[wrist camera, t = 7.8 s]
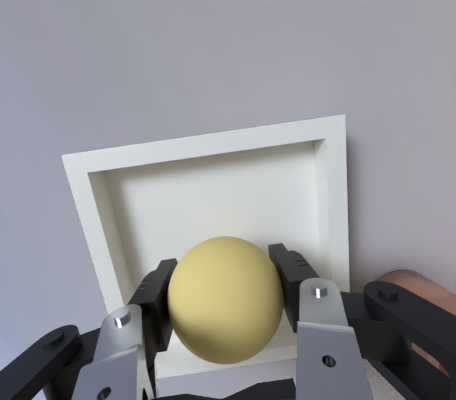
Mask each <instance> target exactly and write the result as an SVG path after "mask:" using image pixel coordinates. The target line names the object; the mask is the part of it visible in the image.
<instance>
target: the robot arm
mask: <svg viewBox="0 0 456 400" xmlns="http://www.w3.org/2000/svg"><path fill="white" fill-rule="evenodd" d="M268 251H269V258H270V259H271V261H272V262H273V264H274V265H275V267H276V269H277V271H278V273H279V276H280V279H281V282H282V287H283V293H284V307H283V308H284V310H285V313H286V315H287V318H288V320H289V323H290V325H291V328H292V330H293V333H297V367H296V387H295V384H294V381H293V378H290V379H284V380H277V381H270V382H263V383H257V384H255V385H253V386H251V387H248V388H246V389H244V390H242V391H239V392H237V393H235V394H233V395H231V396H228V397H226V398H223V399H216V398H210V397H203V396H197V395H190V394H181V395H174V396H167V397H160V398H159V393H158V380H157V368H156V363H155V357H156V354H157V353H158V352H165V351H167V349H168V345H169V342H170V338H171V335H172V331H173V328H172V325H171V322H170V319H169V314H168V307H167V294H168V287H169V283H170V280H171V276H172V274H173V272H174V270H175V268H176V266H177V264H178V262H177V260H176V258H173V259H166V260H161V262H160V263H159V265H158V267H157V269H156V270H154V271H151V272H150V273H149V274H147V275H146V276H145V277H144V279H143V280H142V282H141V284H140V285H139V287H138V288H137V290H136V291H135V293H134V295H133V296H132V298H131V299H130V301H129V302H128V304H127V305H126V306H123V307H120V308H118V309H116V310H114V311H113V312H112V313H110V314H109V315H108V316H107V317H106V318H105V319H104V321H103V323H102V326H101V328H98V329H96V330H93V331H90V332H87V333H85V334H82V335H80V334H79V331H78V328H77V326H75V325H67V326H63V327H60V328H57V329H55V330H53V331H51V332H49V333H48V334H46V335H44V336H43V337H42V338H40V339H39V340H38V341H37V342H35V343H34V344H33V345H32V346H30V347H29V348H28V349H27V350H26V351H24V352H23V353H22V354H21V355H19V356H18V357H17V358H16V359H15V360H13V361H12V362H11V363H10V364H9V365H7V366H6V367H5V368H4V369H2V370H1V371H0V400H32V399H33V397H34V396H35V395H36V394H37V393H38V392H39V391H40V390H41V389H43V392H44V394H45V397H46V399H47V400H373V396H372V393H371V389H370V386H369V382H368V378H367V375H366V371H365V368H364V364H363V361H362V358H364V359H367V360H368V361H369V363H370V364H371V365H372V366H373V367H374V368H375V369H376V370H377V371H378V372H379V373H380V374H381V375H382V376H383V377H384V378H385V379H386V380H387V381H388V382H389V383H390V384H391V385H392V386H393V387H394V388H395V389H396V390H397V391H398V392H399V393H400V394H401V395H402V396H403V397H404V398H405V399H406V400H456V315H454V314H452V313H450V312H448V311H446V310H444V309H443V308H441V307H439V306H437V305H435V304H433V303H431V302H430V301H428V300H426V299H424V298H422V297H420V296H418V295H416V294H415V293H413V292H411V291H409V290H407V289H405V288H403V287H401V286H399V285H396V284H393V283H390V282H384V281H374V282H370V283H368V284H366V285H365V287H364V293H349V292H342V291H339V288H338V286H337V285H336V284H334V283H333V282H331V281H329V280H326V279H322V278H320V277H319V276H318V274H317V273H316V272H315V271H314V269H313V268H312V267H311V266H310V265H309V263H308V262H307V261H306V259H305V258H304V257H303V256H302V255H301V254H300V253H298V252H296V251H294V250H293V251H288V250H287V249H286V248H285V246H284V245H283V243H278V244H271V245H268ZM412 342H413V343H414V344H415V345H417V346H418V347H419V348H421V349H422V350H424V351H425V352H426V353H428V354H429V355H430V356H432V357H433V358H434V359H436V360H437V361H438V362H439V363H440V364H441V365H442V366H443V367H444V369H445V370H446V371H447V373H448V375H449V377H448V376H447V375H446V374H444V373H443V372H442V371H440V370H439V369H438V368H437V367H435V366H434V365H433V364H431V363H430V362H429V361H427V360H426V359H425V358H424V357H422V356H421V355H420V354H418V353H417V352H416V351H414V350H413V349H412Z"/></svg>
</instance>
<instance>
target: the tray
mask: <svg viewBox="0 0 456 400" xmlns="http://www.w3.org/2000/svg"><path fill="white" fill-rule="evenodd" d="M61 156H62V160H63V163H64V166H65V170H66V173H67V176H68V180H69V183H70V186H71V190H72V193H73V197H74V200H75V203H76V207H77V210H78V213H79V217H80V220H81V223H82V227H83V230H84V234H85V237H86V240H87V244H88V247H89V250H90V254H91V257H92V260H93V264H94V267H95V271H96V274H97V277H98V281H99V284H100V287H101V291H102V294H103V297H104V301H105V304H106V308H107V311H108V314H110V313H112V312H113V311H114V310H116V309H118V308H120V307H123V306H126V305H127V304H128V302H129V301H130V299H131V298H132V296H133V295H134V293H135V291H136V290H137V288H138V287H139V285H140V284H141V282H142V280H143V279H144V277H145V276H146V275H147V274H149V273H150V272H151V271H154V270H156V269H157V267H158V265H159V263H160V262H161V260H166V259H173V258H176V260H177V262H178V263H179V261H180V260H181V259H182V257H183V256H184V255H185V254H186V253H187V252H188V251H189V250H190V249H191V248H193V247H194V246H196V245H197V244H199V243H201V242H203V241H205V240H208V239H211V238H215V237H222V236H230V237H237V238H240V239H244V240H246V241H248V242H251V243H253V244H254V245H256V246H257V247H259V248H260V249H261V250H262V251H263V252H264V253H265V254H266V255H267V256H268V257H269V251H268V245H271V244H278V243H283V245H284V246H285V248H286V249H287V250H288V251H293V250H294V251H296V252H298V253H300V254H301V255H302V256H303V257H304V258H305V259H306V261H307V262H308V263H309V265H310V266H311V267H312V268H313V269H314V271H315V272H316V273H317V274H318V276H319V277H320V278H322V279H326V280H329V281H331V282H333V283H334V284H336V285H337V286H338V288H339V291H342V292H349V293H350V283H349V243H348V204H347V164H346V124H345V114H344V115H337V116H330V117H323V118H316V119H309V120H302V121H295V122H288V123H281V124H274V125H267V126H260V127H253V128H246V129H240V130H233V131H226V132H219V133H212V134H205V135H198V136H191V137H184V138H177V139H170V140H163V141H156V142H149V143H142V144H135V145H129V146H122V147H115V148H108V149H101V150H94V151H87V152H80V153H73V154H66V155H61ZM295 358H297V333H293V330H292V328H291V325H290V323H289V320H288V318H287V315H286V313H285V310H284V308H283V314H282V318H281V321H280V325H279V327H278V329H277V331H276V333H275V335H274V336H273V338H272V340H271V341H270V342H269V344H268V345H267V346H266V347H265V348H264V349H263V350H262V351H261V352H259V353H258V354H257V355H255V356H254V357H252V358H250V359H248V360H245V361H243V362H239V363H235V364H215V363H211V362H208V361H205V360H203V359H201V358H199V357H197V356H196V355H194V354H193V353H191V352H190V351H189V350H188V349H187V348H186V347H185V346H184V345H183V344H182V343H181V341H180V340H179V338H178V337H177V335H176V334H175V332H174V330H173V331H172V335H171V338H170V342H169V345H168V349H167V351H165V352H158V353H157V354H156V357H155V363H156V368H157V379H158V378H165V377H171V376H178V375H185V374H192V373H199V372H206V371H213V370H219V369H226V368H233V367H240V366H247V365H254V364H261V363H267V362H274V361H281V360H288V359H295Z"/></svg>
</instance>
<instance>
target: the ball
mask: <svg viewBox="0 0 456 400" xmlns="http://www.w3.org/2000/svg"><path fill="white" fill-rule="evenodd" d="M167 307H168V314H169V319H170V322H171V325H172V328H173V330H174V332H175V334H176V335H177V337H178V338H179V340H180V341H181V343H182V344H183V345H184V346H185V347H186V348H187V349H188V350H189V351H190V352H191V353H193V354H194V355H196V356H197V357H199V358H201V359H203V360H205V361H208V362H211V363H215V364H235V363H239V362H243V361H245V360H248V359H250V358H252V357H254V356H255V355H257V354H258V353H259V352H261V351H262V350H263V349H264V348H265V347H266V346H267V345H268V344H269V342H270V341H271V340H272V338H273V336H274V335H275V333H276V331H277V329H278V327H279V325H280V321H281V318H282V314H283V307H284V293H283V287H282V282H281V279H280V276H279V273H278V271H277V269H276V267H275V265H274V264H273V262H272V261H271V259H270V258H269V257H268V256H267V255H266V254H265V253H264V252H263V251H262V250H261V249H260V248H259V247H257V246H256V245H254V244H253V243H251V242H248V241H246V240H244V239H240V238H237V237H230V236H222V237H215V238H211V239H208V240H205V241H203V242H201V243H199V244H197V245H196V246H194V247H193V248H191V249H190V250H189V251H188V252H187V253H186V254H185V255H184V256H183V257H182V259H181V260H180V261H179V263H178V264H177V266H176V268H175V270H174V272H173V274H172V276H171V280H170V283H169V287H168V294H167Z"/></svg>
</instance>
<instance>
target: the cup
mask: <svg viewBox="0 0 456 400" xmlns="http://www.w3.org/2000/svg"><path fill="white" fill-rule="evenodd" d="M378 281H384V282H390V283H393V284H396V285H399V286H401V287H403V288H405V289H407V290H409V291H411V292H413V293H415V294H416V295H418V296H420V297H422V298H424V299H426V300H428V301H430V302H431V303H433V304H435V305H437V306H439V307H441V308H443V309H444V310H446V311H448V312H450V313H452V314H454V315H456V295H454V294H452V293H451V292H449V291H447V290H446V289H444V288H442V287H441V286H439V285H437V284H436V283H434V282H432V281H431V280H429V279H427V278H426V277H424V276H422V275H421V274H419V273H417V272H415V271H411V270H397V271H393V272H390V273H388V274H386V275H384V276H383V277H381V278H380V279H379V280H378ZM412 349H413V350H414V351H416V352H417V353H418V354H420V355H421V356H422V357H424V358H425V359H426V360H427V361H429V362H430V363H431V364H433V365H434V366H435V367H437V368H438V369H439V370H440V371H442V372H443V373H444V374H446V375H447V376H448V377H449V375H448V373H447V371H446V370H445V369H444V367H443V366H442V365H441V364H440V363H439V362H438V361H437V360H436V359H434V358H433V357H432V356H430V355H429V354H428V353H426V352H425V351H424V350H422V349H421V348H419V347H418V346H417V345H415V344H414V343H413V342H412Z"/></svg>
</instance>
